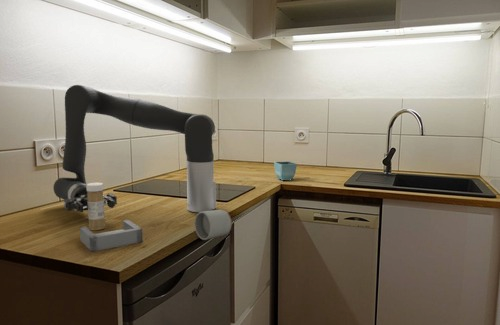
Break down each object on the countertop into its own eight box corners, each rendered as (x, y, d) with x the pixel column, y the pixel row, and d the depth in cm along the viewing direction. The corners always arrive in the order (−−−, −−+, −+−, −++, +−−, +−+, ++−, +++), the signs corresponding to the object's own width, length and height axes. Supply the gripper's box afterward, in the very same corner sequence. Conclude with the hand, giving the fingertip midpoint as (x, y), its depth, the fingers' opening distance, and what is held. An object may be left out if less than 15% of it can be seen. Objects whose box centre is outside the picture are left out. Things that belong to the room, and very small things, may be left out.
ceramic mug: (233, 236, 108) (233, 209, 107) (210, 243, 102) (210, 214, 101) (210, 228, 116) (210, 203, 115) (187, 234, 110) (187, 207, 109)
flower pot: (296, 181, 193) (297, 163, 192) (280, 182, 190) (281, 164, 189) (288, 178, 201) (289, 161, 200) (273, 179, 198) (273, 161, 197)
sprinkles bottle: (100, 225, 117) (98, 181, 115) (107, 228, 114) (106, 183, 112) (85, 228, 113) (83, 183, 112) (92, 232, 110) (90, 185, 108)
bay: (128, 231, 111) (128, 219, 111) (142, 241, 103) (142, 228, 102) (80, 240, 103) (79, 227, 103) (91, 251, 95) (90, 238, 94)
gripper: (57, 187, 119) (70, 196, 106) (105, 182, 128) (121, 190, 115) (59, 210, 120) (71, 223, 107) (105, 204, 129) (122, 215, 116)
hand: (97, 206), depth 111 cm, fingers open, 8 cm apart
